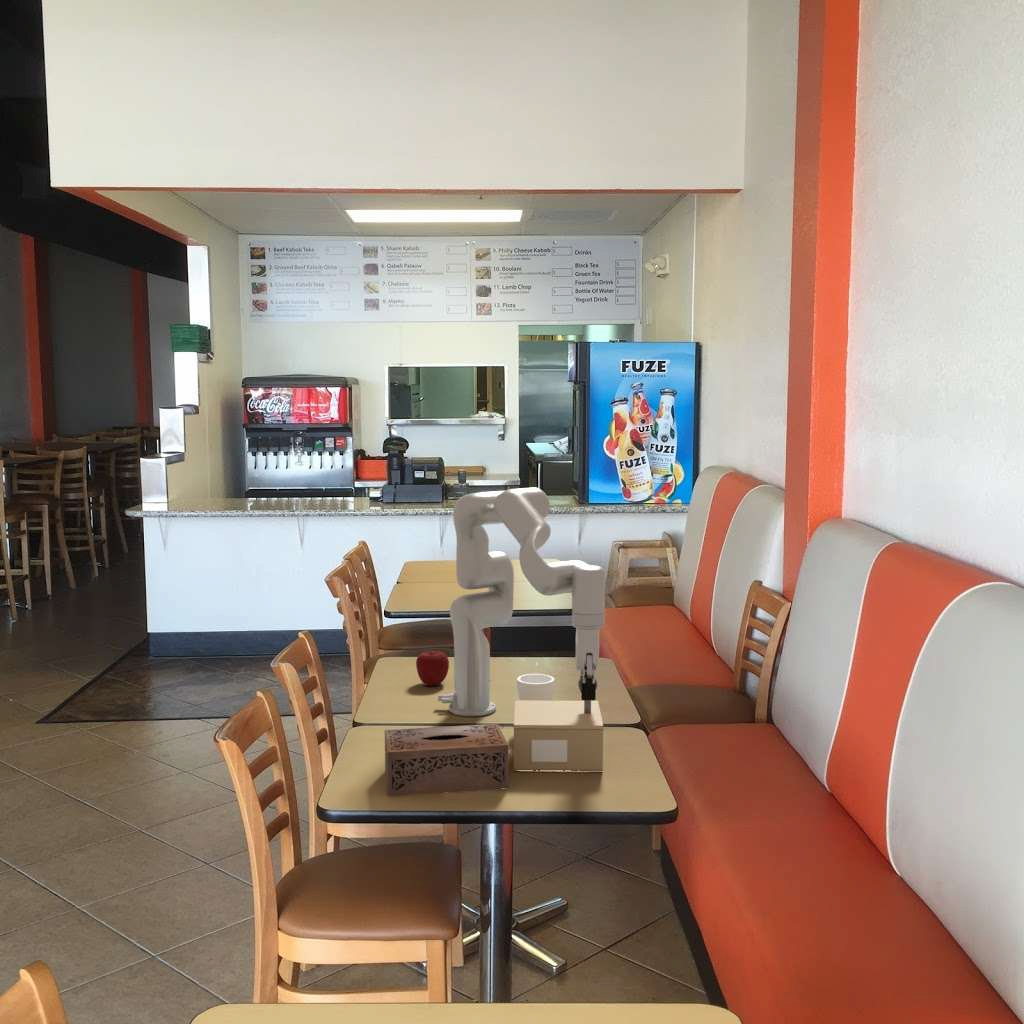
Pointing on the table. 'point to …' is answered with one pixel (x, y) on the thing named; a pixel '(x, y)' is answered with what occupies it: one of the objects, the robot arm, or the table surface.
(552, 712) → the carton lid
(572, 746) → the carton
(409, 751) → the tissue box cover
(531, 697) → the foam cup
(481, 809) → the table surface
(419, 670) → the apple
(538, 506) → the robot arm
